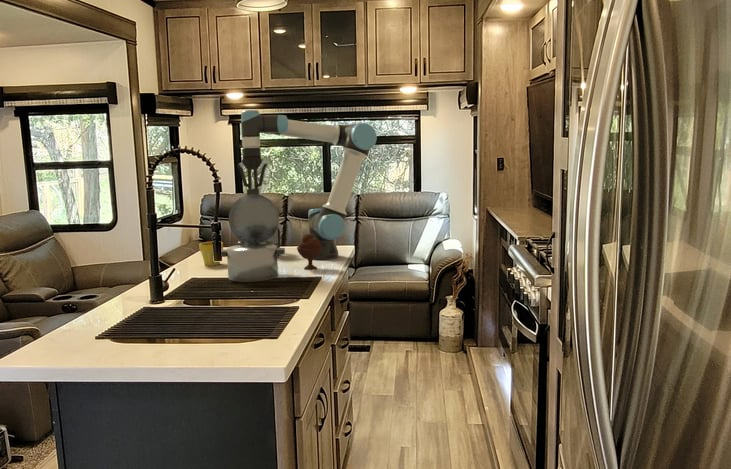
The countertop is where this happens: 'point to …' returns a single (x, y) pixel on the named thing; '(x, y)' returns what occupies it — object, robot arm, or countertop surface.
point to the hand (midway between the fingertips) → (253, 202)
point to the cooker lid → (253, 218)
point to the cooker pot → (252, 262)
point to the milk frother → (275, 239)
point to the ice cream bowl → (309, 249)
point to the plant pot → (208, 253)
